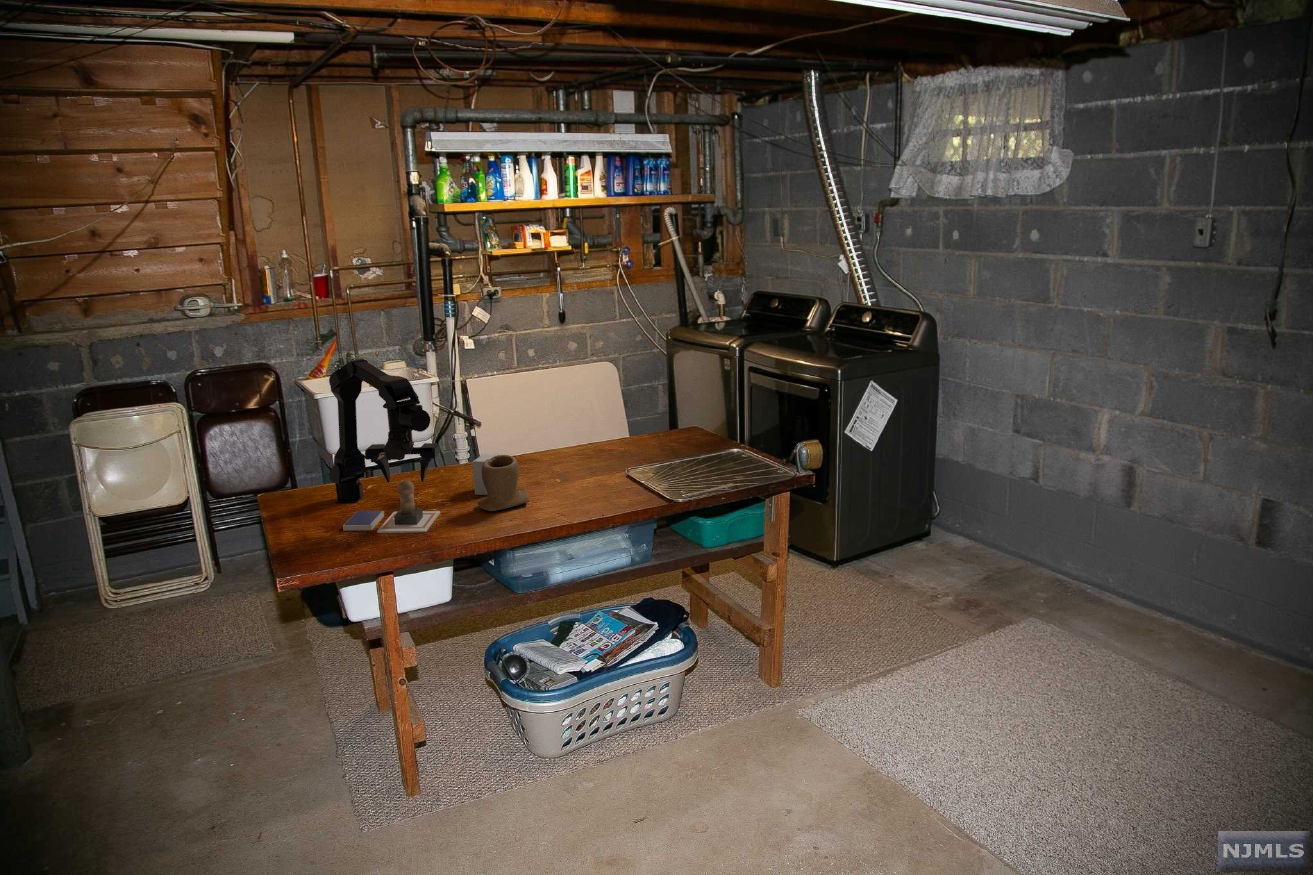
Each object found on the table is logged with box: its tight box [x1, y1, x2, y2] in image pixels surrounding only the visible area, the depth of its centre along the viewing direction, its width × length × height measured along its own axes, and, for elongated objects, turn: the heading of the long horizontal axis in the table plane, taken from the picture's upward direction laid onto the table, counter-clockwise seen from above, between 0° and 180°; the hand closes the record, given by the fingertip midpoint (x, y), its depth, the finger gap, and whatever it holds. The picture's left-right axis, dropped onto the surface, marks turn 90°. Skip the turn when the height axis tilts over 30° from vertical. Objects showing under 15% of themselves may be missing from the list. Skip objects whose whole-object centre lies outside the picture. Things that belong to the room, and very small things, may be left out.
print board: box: [376, 510, 441, 534], centre depth 248 cm, size 13×15×1 cm
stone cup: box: [477, 454, 531, 512], centre depth 257 cm, size 15×12×15 cm
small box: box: [472, 453, 498, 496], centre depth 271 cm, size 8×6×10 cm
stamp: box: [394, 479, 423, 525], centre depth 246 cm, size 6×6×12 cm
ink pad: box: [342, 510, 385, 532], centre depth 248 cm, size 8×11×2 cm
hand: (405, 481), depth 245 cm, fingers open, 9 cm apart
